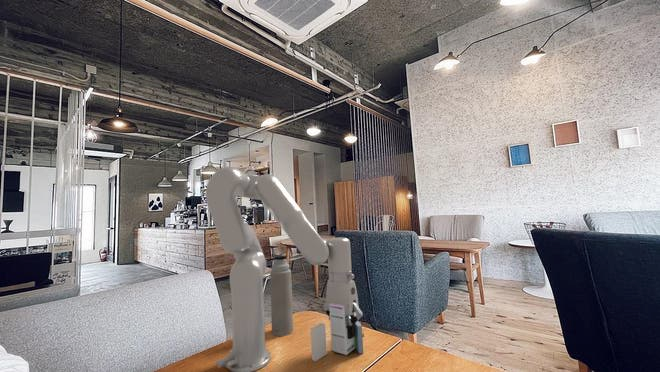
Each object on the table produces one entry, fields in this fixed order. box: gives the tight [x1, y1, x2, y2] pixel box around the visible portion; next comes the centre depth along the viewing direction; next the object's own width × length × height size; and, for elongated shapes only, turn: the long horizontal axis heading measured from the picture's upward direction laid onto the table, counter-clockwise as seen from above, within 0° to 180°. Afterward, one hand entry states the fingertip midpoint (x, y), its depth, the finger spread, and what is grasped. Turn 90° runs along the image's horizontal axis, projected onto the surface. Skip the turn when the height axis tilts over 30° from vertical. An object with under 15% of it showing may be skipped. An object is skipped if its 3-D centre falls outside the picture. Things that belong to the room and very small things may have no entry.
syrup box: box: [329, 303, 356, 356], centre depth 87 cm, size 6×6×14 cm
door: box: [355, 320, 365, 354], centre depth 91 cm, size 13×2×9 cm, turn 11°
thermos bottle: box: [269, 255, 294, 337], centre depth 105 cm, size 8×8×28 cm
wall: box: [310, 312, 356, 362], centre depth 91 cm, size 23×2×9 cm, turn 141°
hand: (343, 334), depth 87 cm, fingers closed on syrup box, 5 cm apart
